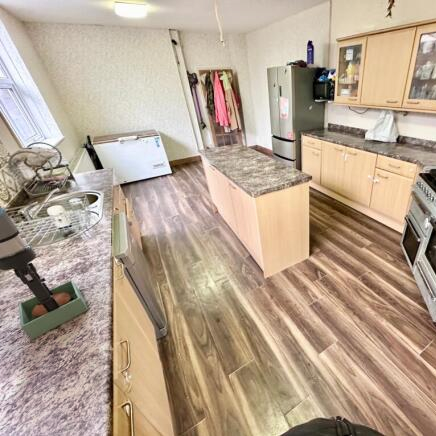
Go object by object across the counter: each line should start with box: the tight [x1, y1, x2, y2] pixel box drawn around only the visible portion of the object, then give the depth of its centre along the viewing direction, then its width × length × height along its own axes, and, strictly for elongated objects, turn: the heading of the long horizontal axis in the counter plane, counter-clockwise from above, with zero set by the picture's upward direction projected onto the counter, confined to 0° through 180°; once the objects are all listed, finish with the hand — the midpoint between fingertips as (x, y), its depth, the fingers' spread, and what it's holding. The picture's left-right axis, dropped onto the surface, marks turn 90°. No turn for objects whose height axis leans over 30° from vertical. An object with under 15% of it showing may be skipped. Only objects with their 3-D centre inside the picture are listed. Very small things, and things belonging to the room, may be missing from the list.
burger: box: [32, 293, 75, 319], centre depth 75 cm, size 10×9×5 cm
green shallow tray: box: [18, 279, 89, 340], centre depth 75 cm, size 14×14×6 cm
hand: (53, 306), depth 75 cm, fingers open, 10 cm apart
